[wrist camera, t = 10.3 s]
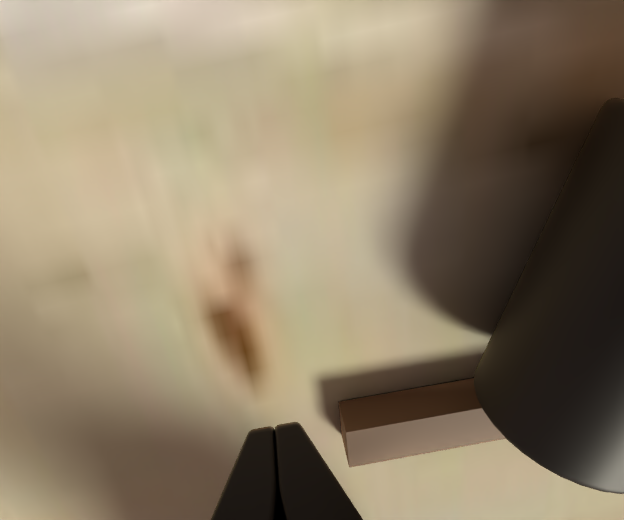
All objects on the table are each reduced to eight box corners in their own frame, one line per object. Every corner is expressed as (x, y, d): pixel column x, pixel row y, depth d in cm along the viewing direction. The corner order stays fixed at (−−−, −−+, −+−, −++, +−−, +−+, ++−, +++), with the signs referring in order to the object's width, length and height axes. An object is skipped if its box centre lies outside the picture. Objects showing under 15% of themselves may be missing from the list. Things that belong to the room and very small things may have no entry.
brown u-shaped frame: (691, 372, 22) (722, 398, 21) (341, 435, 21) (349, 467, 19) (915, -233, 12) (1003, -262, 11) (279, -174, 11) (285, -199, 10)
